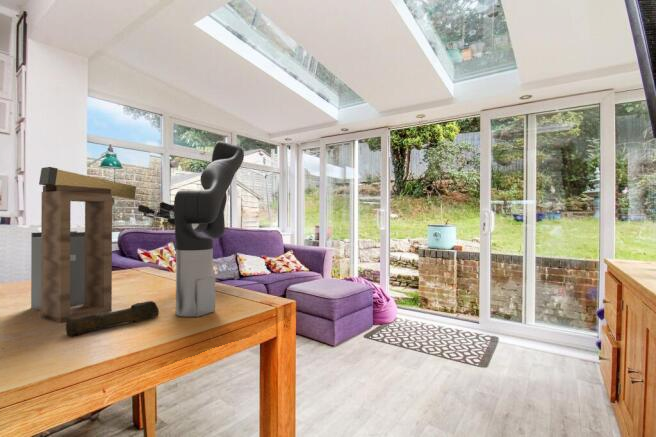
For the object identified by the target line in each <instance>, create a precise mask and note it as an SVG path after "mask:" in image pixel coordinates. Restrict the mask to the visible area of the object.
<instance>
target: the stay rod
mask: <svg viewBox="0 0 656 437" xmlns="http://www.w3.org/2000/svg"><path fill="white" fill-rule="evenodd" d="M38 184H39V186H50V187H56V185H68V186H80V187H92V188H105V189H111V194H112V199H120V200H125V201H133V200H136V191H137V186H134V185H130V184H128V183H127V184H126V183H122V182H117V181H113V180H108V179H104V178H103V179H102V178H99V177H94V176H90V175H85V174H80V173H77V172H76V173H75V172H71V171H66V170H63V169H58V168H57V167H54V166H53V167H52V166H46V167H41V170H40V177H39V182H38Z"/></svg>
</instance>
